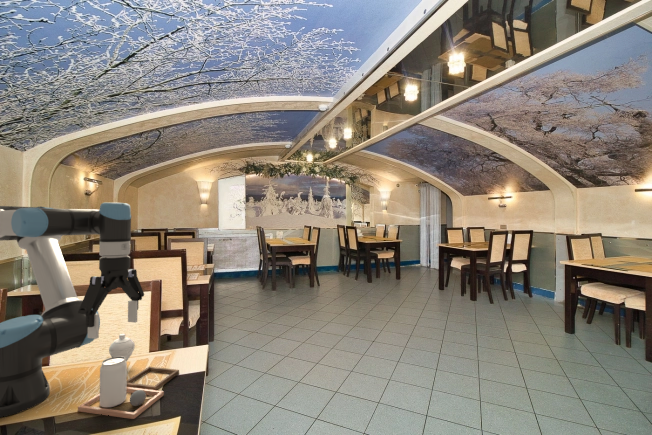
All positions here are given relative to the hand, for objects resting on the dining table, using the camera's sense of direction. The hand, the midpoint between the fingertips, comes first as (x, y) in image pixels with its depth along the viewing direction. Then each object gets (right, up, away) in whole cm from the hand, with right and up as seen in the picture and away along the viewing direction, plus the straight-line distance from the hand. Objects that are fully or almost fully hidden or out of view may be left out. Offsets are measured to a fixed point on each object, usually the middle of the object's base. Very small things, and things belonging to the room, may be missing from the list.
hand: (114, 329), depth 93 cm
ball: (+8, -21, -2) cm, 22 cm away
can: (0, -21, 0) cm, 21 cm away
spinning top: (-11, -21, +20) cm, 31 cm away
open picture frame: (+3, -21, -1) cm, 21 cm away
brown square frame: (+4, -21, +12) cm, 25 cm away
